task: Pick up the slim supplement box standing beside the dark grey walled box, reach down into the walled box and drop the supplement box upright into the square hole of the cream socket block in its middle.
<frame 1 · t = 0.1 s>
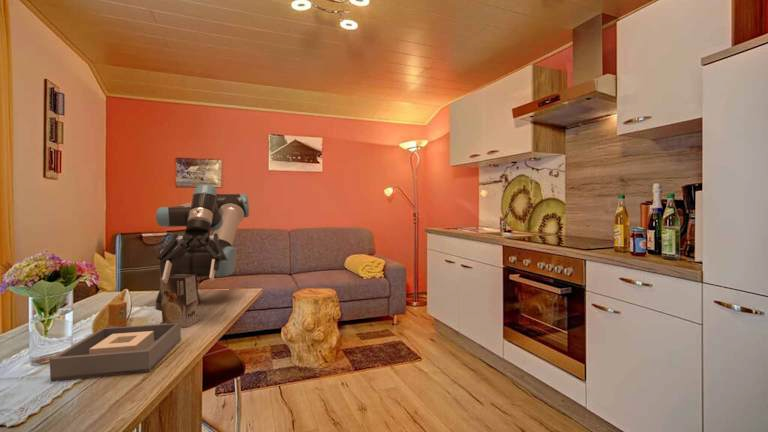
hand: (188, 280, 112), 15 cm above the table, tool tilted 35°, fingers open, 13 cm apart
walled box: (124, 357, 91), on the table
socket block: (123, 347, 91), in the walled box, point 3 cm above the table
coffee box: (180, 324, 116), on the table, touching gripper
supplement box: (118, 335, 106), on the table
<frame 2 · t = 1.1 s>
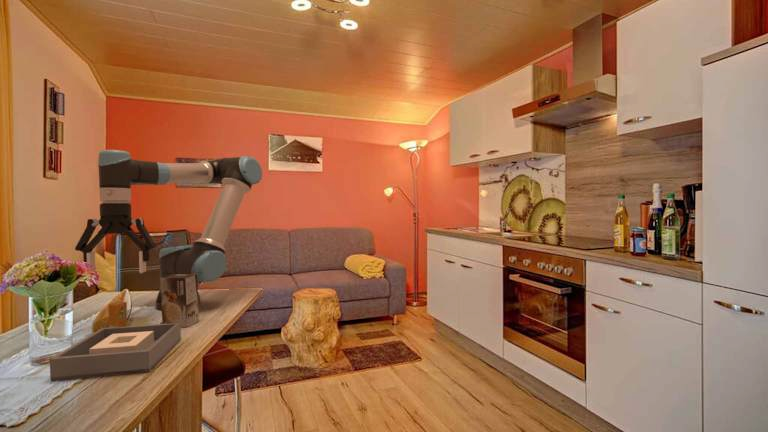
hand: (117, 273, 106), 19 cm above the table, tool pointing down, fingers open, 13 cm apart
coffee box: (180, 324, 116), on the table
everything else where it was.
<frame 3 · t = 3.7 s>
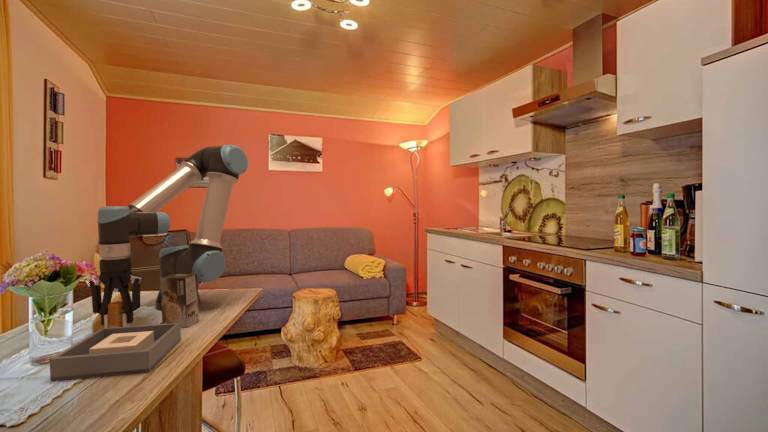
hand: (117, 334, 106), 0 cm above the table, tool pointing down, fingers closed on supplement box, 4 cm apart
supplement box: (118, 335, 106), on the table, touching gripper
everything else where it was.
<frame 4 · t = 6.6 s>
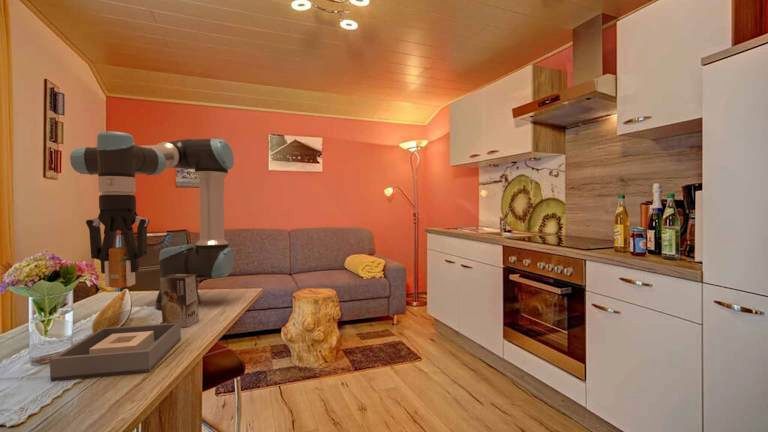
hand: (120, 285, 90), 19 cm above the table, tool pointing down, fingers closed on supplement box, 4 cm apart
supplement box: (121, 287, 90), point 18 cm above the table, touching gripper
everything else where it was.
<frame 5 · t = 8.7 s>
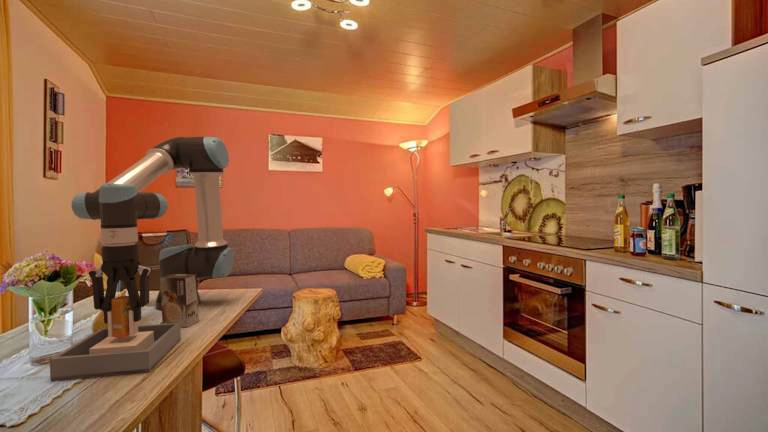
hand: (123, 334, 91), 6 cm above the table, tool pointing down, fingers closed on supplement box, 4 cm apart
supplement box: (124, 336, 91), point 6 cm above the table, touching gripper
everything else where it was.
when the fingers open (6 cm above the table, at t = 9.3 s): supplement box drops 5 cm, resting on walled box.
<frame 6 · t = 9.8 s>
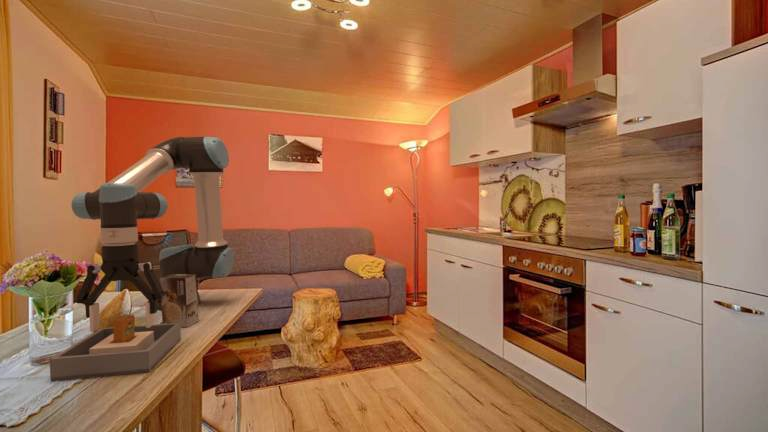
hand: (123, 327, 90), 8 cm above the table, tool pointing down, fingers open, 12 cm apart
supplement box: (125, 355, 91), point 1 cm above the table, touching walled box
everything else where it was.
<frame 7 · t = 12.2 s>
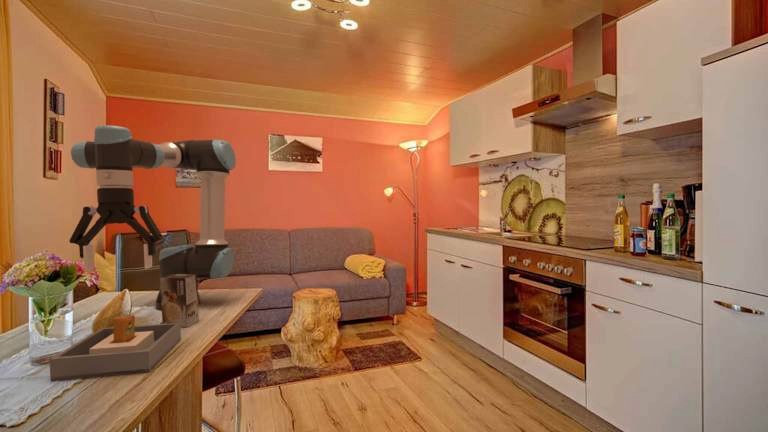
hand: (119, 269, 92), 23 cm above the table, tool pointing down, fingers open, 13 cm apart
nothing on the table moved.
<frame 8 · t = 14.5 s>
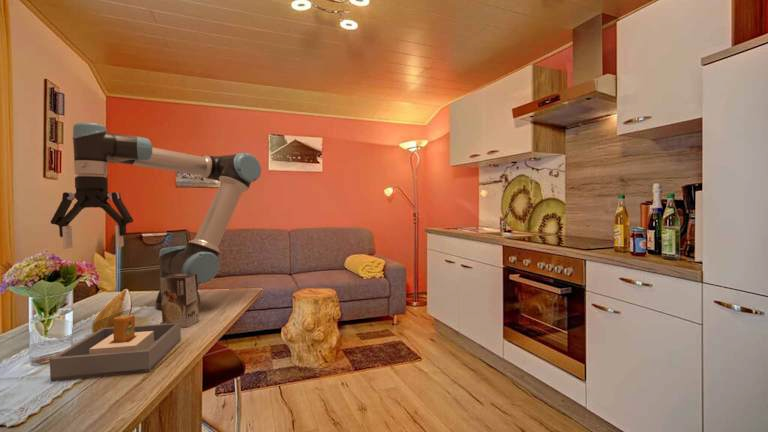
hand: (94, 247, 105), 27 cm above the table, tool pointing down, fingers open, 13 cm apart
nothing on the table moved.
at the end: supplement box 0.2 cm off-centre on the socket block, point 0.6 cm above the socket block's base; supplement box tilted 0°; the gripper is holding nothing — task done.
